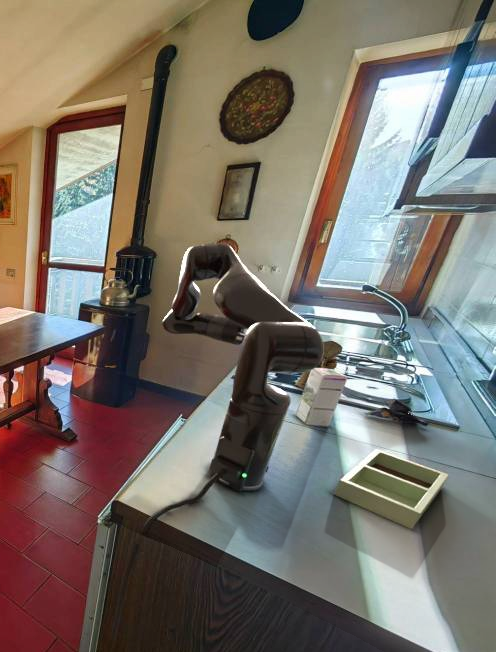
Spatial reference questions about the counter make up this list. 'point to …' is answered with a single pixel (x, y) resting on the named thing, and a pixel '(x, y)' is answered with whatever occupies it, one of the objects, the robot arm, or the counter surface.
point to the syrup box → (321, 396)
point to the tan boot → (323, 360)
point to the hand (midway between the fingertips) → (287, 343)
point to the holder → (391, 487)
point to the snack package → (396, 412)
